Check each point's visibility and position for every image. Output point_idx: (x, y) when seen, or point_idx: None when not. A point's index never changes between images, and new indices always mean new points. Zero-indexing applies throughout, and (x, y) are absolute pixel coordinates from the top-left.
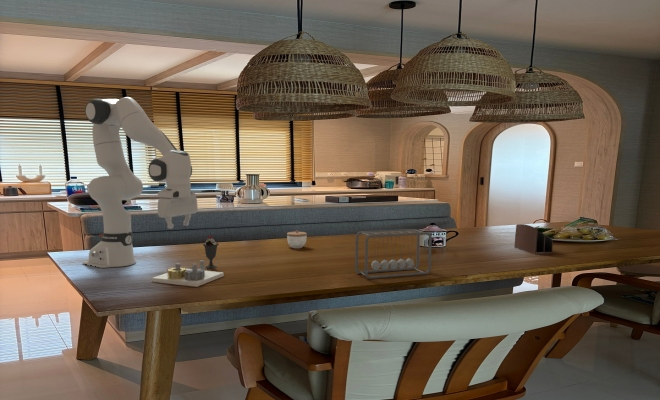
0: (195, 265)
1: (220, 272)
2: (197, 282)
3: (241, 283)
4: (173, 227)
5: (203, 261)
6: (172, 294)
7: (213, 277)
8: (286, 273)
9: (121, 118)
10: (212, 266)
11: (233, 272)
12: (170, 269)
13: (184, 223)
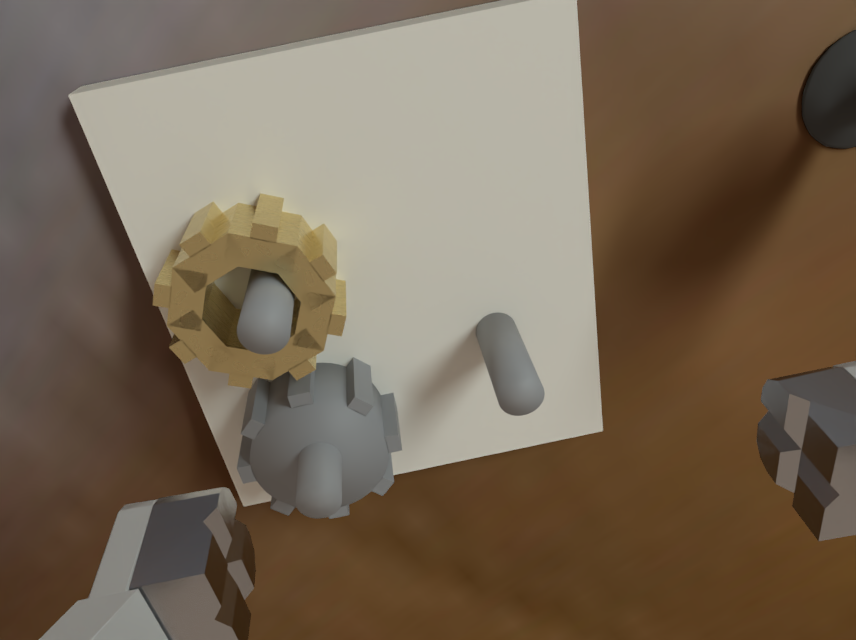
0: (310, 511)
1: (590, 414)
2: (253, 504)
3: (482, 599)
4: (250, 572)
5: (514, 414)
6: (6, 509)
7: (457, 454)
8: (815, 615)
9: None
10: (847, 124)
11: (730, 384)
12: (204, 263)
13: (799, 433)
